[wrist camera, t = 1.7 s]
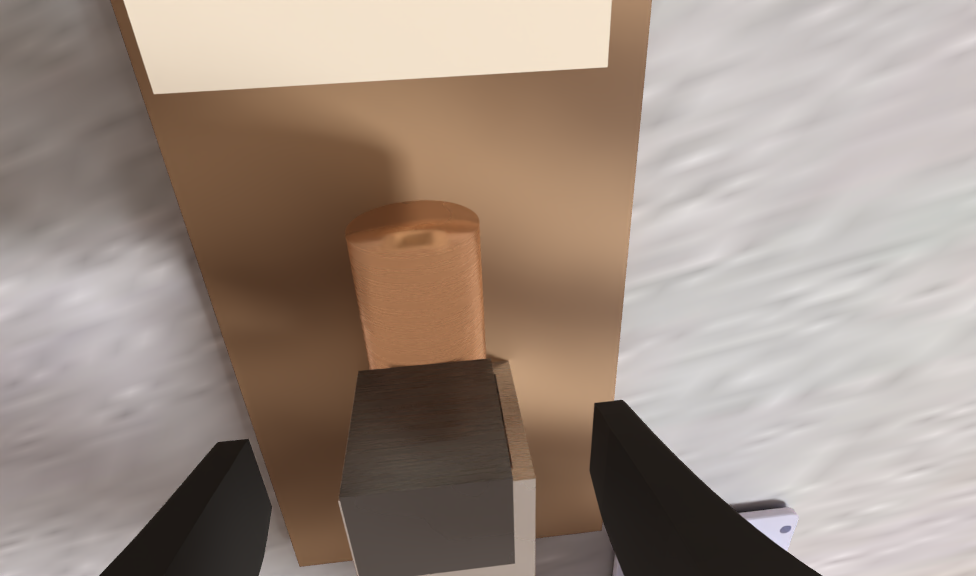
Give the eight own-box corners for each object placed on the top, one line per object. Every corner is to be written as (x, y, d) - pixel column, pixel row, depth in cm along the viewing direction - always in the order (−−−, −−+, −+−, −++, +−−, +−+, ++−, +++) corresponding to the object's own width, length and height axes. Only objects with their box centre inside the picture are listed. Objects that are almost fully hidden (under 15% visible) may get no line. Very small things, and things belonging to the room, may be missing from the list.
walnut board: (594, 510, 24) (601, 530, 23) (304, 544, 23) (299, 566, 22) (654, -204, 12) (672, -218, 11) (71, -190, 11) (42, -204, 10)
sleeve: (513, 524, 22) (534, 654, 18) (389, 539, 22) (382, 674, 17) (508, 360, 18) (535, 478, 14) (357, 375, 18) (337, 501, 13)
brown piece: (492, 541, 21) (519, 754, 15) (411, 551, 21) (408, 770, 15) (473, 196, 14) (510, 348, 8) (352, 205, 14) (305, 368, 8)
